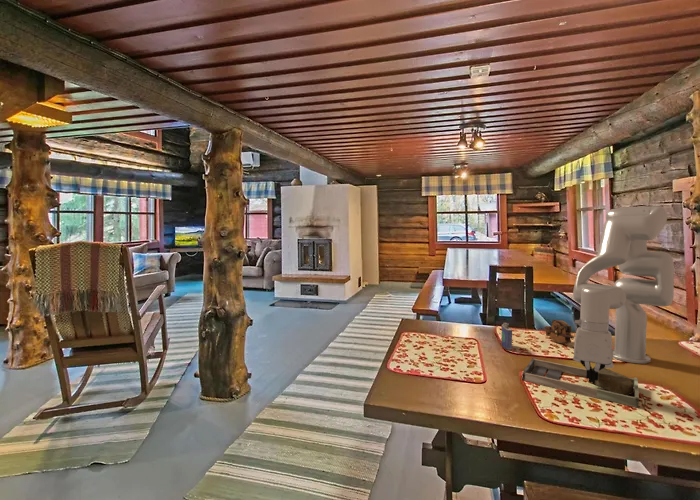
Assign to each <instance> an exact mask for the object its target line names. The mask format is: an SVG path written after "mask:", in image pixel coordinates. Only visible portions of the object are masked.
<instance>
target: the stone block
mask: <svg viewBox="0 0 700 500" xmlns="http://www.w3.org/2000/svg"><path fill="white" fill-rule="evenodd" d="M592 369H594V367H592ZM592 371H593V370H592ZM630 378H631V377H628V376H625V375H623V374H621V373H619V372H617V371H613V370H611V369H609V368H603V369H601V370H600V371H599V372H598V381H596V380H595V384H594V385H596V386H597V387H600V388H602V389H603V390H604V391H609V392H613V393H618V394H622V395H626V396H630V394H634V386H633V379H634V378H632V379H630Z"/></svg>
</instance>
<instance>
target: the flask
mask: <svg viewBox="0 0 700 500" xmlns="http://www.w3.org/2000/svg"><path fill="white" fill-rule="evenodd" d="M500 345H501V347H502V348H503V349H504V350H507V351H508V350H510V351H512V350H513V329H512V328H510V327H509V323H508V322H503V324H501V341H500Z"/></svg>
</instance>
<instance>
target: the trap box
mask: <svg viewBox="0 0 700 500" xmlns="http://www.w3.org/2000/svg"><path fill="white" fill-rule="evenodd" d="M562 373H565V374H569V375H574V376H579V377H584V378H586V376H587V369H586V368H581V367H577V366H572V365H568V364H562V363H558V362H557V363H556V362H553V361H548V360H547V361H546V360H542V359H537V358H532V359H531V360H530V361H529V363H528V364H527V365H526V367H525V369H523V372H522V374H521V375H522V376H521V377H522V381H526V382H529V383H533V384H537V385H538V384H539V385H542V386H547V387H550V388H553V389H554V388H555V389H559V390H563V391H566V392H567V391H568V392H572V393H576V394H579V395H584V396H587V397H588V396H589V397H591V398H595V399H596V398H597V399H599V400H600V399H601V400H605V401H609V402H613V403H617V404H621V405H624V406H629V407H634V408H639V405H640V404H639V402H640V400H639V399H640V396H639V395H640V394H639V381H638V377H635V376H634V378H631V377H629V378H630V379H633V386H634V393H633V395H634V396H630V395H627V396H626V395H622V394H618V393H613V392H610V391H608V390H605V389H598V388H596V387H590V386H587V385H582V384H578V383H572V382H568V381H564V380H560V378H561V375H562Z"/></svg>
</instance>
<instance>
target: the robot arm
mask: <svg viewBox="0 0 700 500" xmlns="http://www.w3.org/2000/svg"><path fill="white" fill-rule="evenodd" d="M605 219H606V220H605V222H604V224H603V227H602V232H601V236H600V241H599V245H598V250H597V253H596V255H595V256H594V257H592V258H590V259H589V260H588V261H586V263H585V264H583V266H582V267H581V268H580V269H579V270H578V272H577V274H576V277H575V281H574V286H573V289H572V290H573V292H572V293H573V294H572V295H573V299H574V301H575V302H576V303H577V304H580V317H579V319H574V325H578V326H579V327H577V328H576V331H575V336H574V346H573V358H572V361H575V362H577V363H579V364H581V365H582V366H583V367H584V369H587V376H586V377H585V378H586V379H588V383H592V384H593V385H596V384H595V380H596V381H598V372H599V371H600V370H601V369H603V368H606V369H610V368H611V369H613V368H614V363H613V362H614V361H613V359H616V360H620V361H622V362H626V363H631V364H641V365H642V364H645V365H646V364H649V363H651V361H652V359H651V357H650V356H649V355H647V354H646V353H647V351H646V349H647V328H648V327H647V326H648V325H647V324H648V315H647V313H646V311H645V309H644V308H643V307H642V306H641V305H646V306H647V305H648V306H654V307H668V306H671V304H672V302H673V301H674V290H675V288H674V287H675V285H674V283H675V281H674V279H675V278H674V277H675V263H674V258H673V257H672V255H671V254H670V253H668V252H665V251H657V250H656V251H653V250H652V251H649V250H648V248H647V247H648V245H647V244H648V243H647V242H648V241H651V240H655V239H656V238H657V236H658V235H659V234H660V233H661V231H662V230H663V229H664V228H665V226H666V224H667V221H668V213H667V211H666V209H665V208H664V207H662V206H658V205H657V206H656V205H652V206H649V205H648V206H627V207H624V206H623V207H615V208H612V209H609V210H608V211H607V212H606V213H605ZM613 267H618V270H619V271H620V273H622V274H623V275H628V276H634V277H622V278H619V279H617V280H616V281H615V282H614V284H613V285H608V284H607V285H606V284H601V283H600V284H599V283H590V282H589V281H590V279H591V277H593V275H595V274H596V273H599V272H601V271H603V270H606V269H609V268H613ZM635 276H636V277H637V276H638V277H650V278H654V279H645V278H635ZM610 310H615V324H614V325H615V326H614V342H613V336H612V332H611V331H610V330H609V325H610V324H609V322H610ZM613 343H614V345H613ZM591 363H594V364H595V366H594V367H592V366H591V365H592V364H591ZM592 368H594V369H592ZM592 370H593V371H592Z"/></svg>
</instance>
